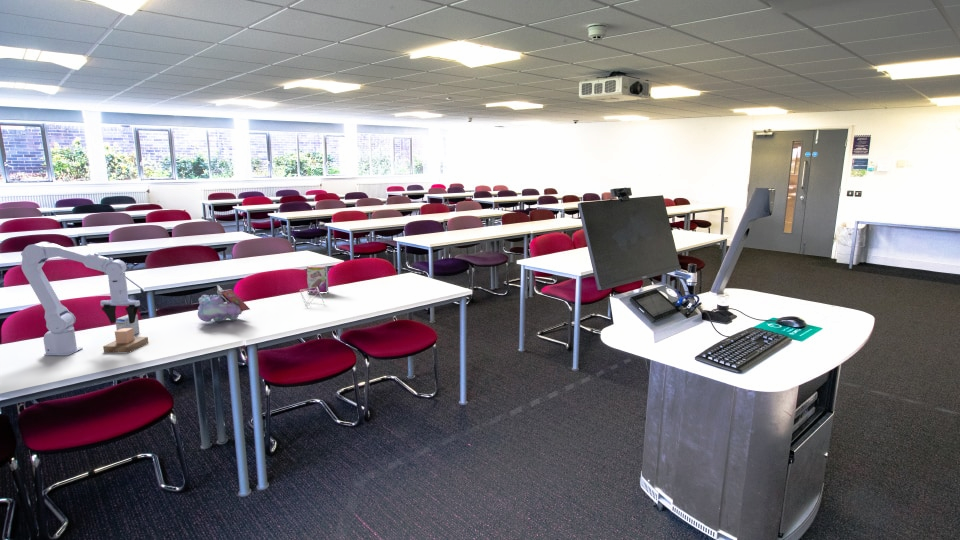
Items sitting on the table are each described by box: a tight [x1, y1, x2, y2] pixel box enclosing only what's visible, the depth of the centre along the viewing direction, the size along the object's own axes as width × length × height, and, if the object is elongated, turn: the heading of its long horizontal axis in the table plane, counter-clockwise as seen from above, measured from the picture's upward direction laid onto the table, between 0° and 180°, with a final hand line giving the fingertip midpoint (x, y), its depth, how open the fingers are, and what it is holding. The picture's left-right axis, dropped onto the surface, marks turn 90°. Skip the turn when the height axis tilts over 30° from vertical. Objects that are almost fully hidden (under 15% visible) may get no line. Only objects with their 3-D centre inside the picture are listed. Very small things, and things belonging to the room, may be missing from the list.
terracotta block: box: [114, 328, 135, 343], centre depth 207 cm, size 4×4×5 cm
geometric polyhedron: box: [299, 287, 325, 308], centre depth 275 cm, size 12×11×9 cm
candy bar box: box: [306, 265, 329, 293], centre depth 301 cm, size 11×5×16 cm, turn 93°
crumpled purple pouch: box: [197, 284, 251, 323], centre depth 242 cm, size 20×22×18 cm
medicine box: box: [115, 314, 140, 336], centre depth 222 cm, size 8×4×9 cm, turn 178°
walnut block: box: [102, 336, 149, 353], centre depth 208 cm, size 10×12×3 cm
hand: (122, 322), depth 206 cm, fingers open, 7 cm apart
